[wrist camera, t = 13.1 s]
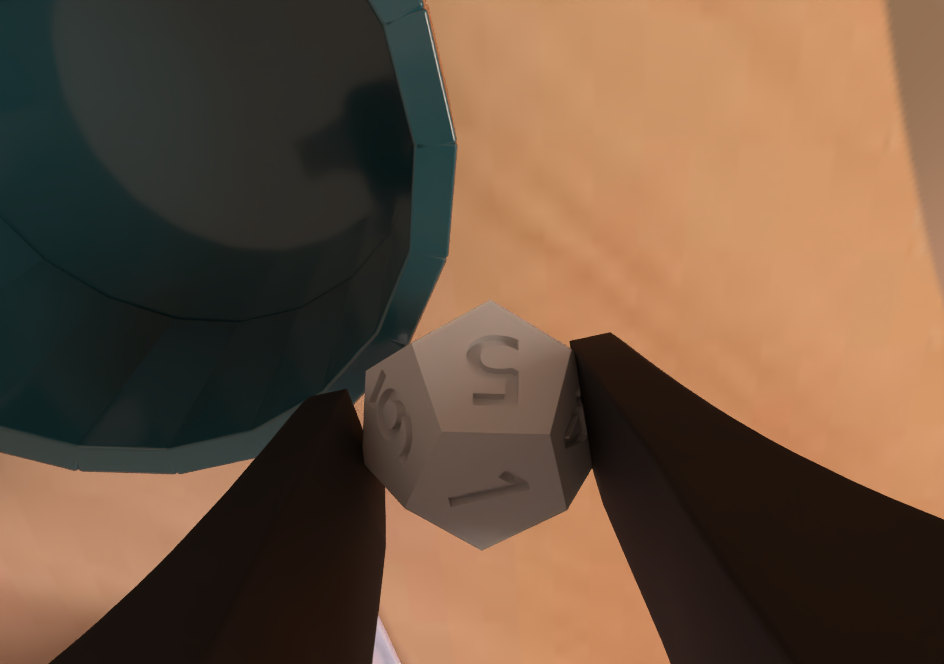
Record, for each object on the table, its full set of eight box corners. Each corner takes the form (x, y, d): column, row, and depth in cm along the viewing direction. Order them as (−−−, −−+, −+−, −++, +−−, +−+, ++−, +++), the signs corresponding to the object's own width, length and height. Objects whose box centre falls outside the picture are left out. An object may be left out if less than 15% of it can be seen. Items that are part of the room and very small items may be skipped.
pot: (490, 279, 17) (516, 403, 12) (84, 372, 18) (-57, 526, 13) (357, -308, 11) (297, -562, 6) (-246, -137, 12) (-764, -236, 7)
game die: (338, 303, 10) (304, 416, 7) (563, 248, 10) (613, 344, 7) (400, 464, 12) (392, 602, 9) (593, 420, 11) (642, 549, 9)
